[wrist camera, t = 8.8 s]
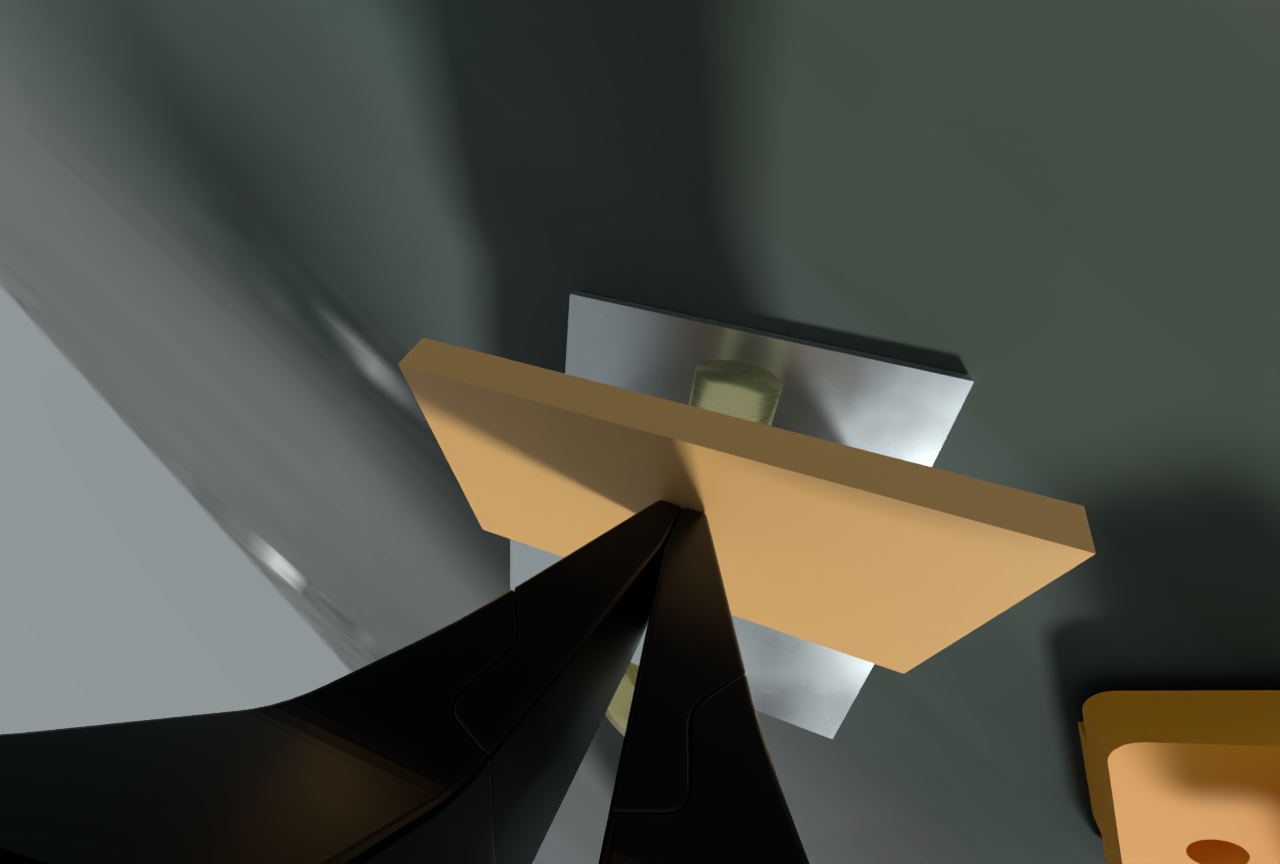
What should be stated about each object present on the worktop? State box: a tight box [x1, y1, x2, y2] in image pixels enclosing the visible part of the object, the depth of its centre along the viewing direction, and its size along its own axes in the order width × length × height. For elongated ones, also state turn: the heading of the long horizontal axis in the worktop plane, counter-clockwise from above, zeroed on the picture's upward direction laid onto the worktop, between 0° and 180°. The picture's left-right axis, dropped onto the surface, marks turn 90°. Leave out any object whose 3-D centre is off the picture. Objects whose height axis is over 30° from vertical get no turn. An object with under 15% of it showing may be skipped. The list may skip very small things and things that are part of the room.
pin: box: [605, 360, 783, 736], centre depth 17 cm, size 14×6×6 cm, turn 172°
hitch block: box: [510, 291, 974, 739], centre depth 16 cm, size 10×13×7 cm
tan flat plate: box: [398, 338, 1096, 674], centre depth 10 cm, size 6×10×1 cm, turn 83°
